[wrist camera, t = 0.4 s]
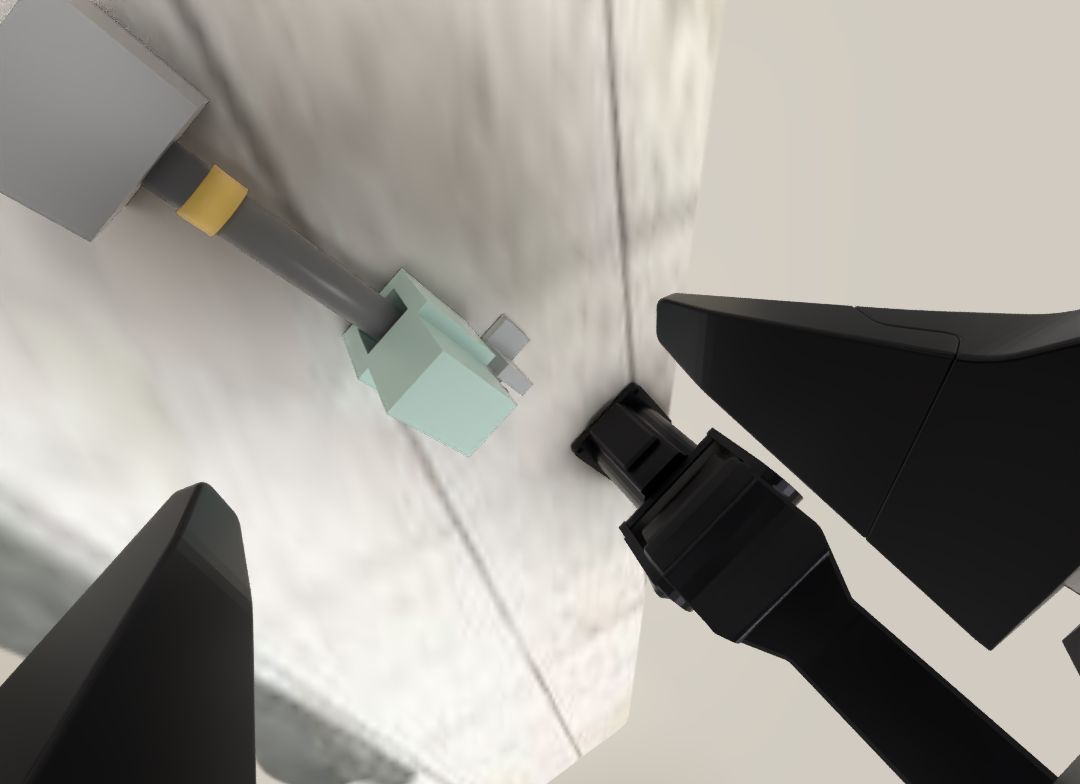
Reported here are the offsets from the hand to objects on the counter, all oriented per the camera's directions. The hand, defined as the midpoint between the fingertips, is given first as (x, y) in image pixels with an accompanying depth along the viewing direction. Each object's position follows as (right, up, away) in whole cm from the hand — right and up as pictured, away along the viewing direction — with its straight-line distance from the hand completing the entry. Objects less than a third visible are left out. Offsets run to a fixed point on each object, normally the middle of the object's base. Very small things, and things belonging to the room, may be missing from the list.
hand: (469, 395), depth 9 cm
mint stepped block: (-5, +3, +13) cm, 14 cm away
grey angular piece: (-7, +5, +10) cm, 13 cm away
